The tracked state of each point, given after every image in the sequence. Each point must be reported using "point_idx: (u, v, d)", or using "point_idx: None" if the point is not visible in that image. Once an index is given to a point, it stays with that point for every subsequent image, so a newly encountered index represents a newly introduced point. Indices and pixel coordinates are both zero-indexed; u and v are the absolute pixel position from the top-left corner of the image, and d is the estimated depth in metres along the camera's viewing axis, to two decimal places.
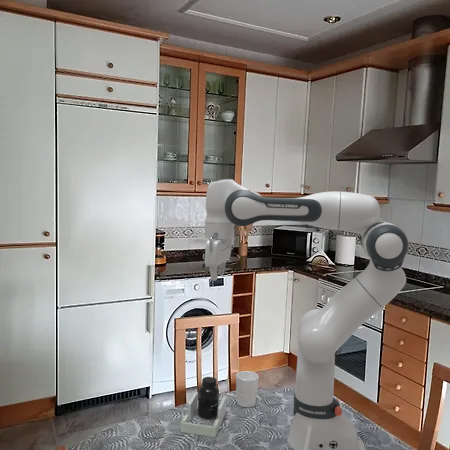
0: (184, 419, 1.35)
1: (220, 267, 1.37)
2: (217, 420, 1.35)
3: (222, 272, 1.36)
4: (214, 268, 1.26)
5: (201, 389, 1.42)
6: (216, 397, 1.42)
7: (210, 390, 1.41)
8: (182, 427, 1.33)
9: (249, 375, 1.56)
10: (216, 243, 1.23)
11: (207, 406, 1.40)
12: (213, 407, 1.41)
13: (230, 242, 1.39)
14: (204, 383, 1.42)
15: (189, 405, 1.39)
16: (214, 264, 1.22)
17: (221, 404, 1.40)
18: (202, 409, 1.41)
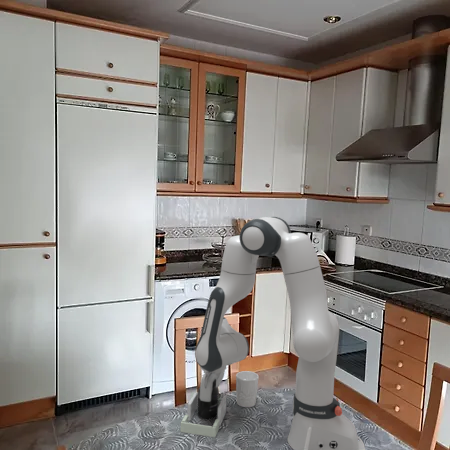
0: (184, 419, 1.35)
1: None
2: (217, 420, 1.35)
3: None
4: None
5: None
6: (216, 397, 1.41)
7: None
8: (182, 427, 1.33)
9: (249, 375, 1.56)
10: (210, 381, 1.39)
11: (207, 406, 1.40)
12: (213, 407, 1.41)
13: None
14: None
15: (189, 405, 1.39)
16: (208, 400, 1.39)
17: (221, 404, 1.40)
18: (202, 409, 1.41)
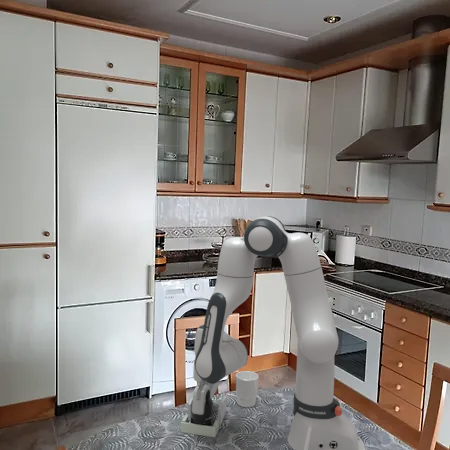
0: (184, 419, 1.35)
1: None
2: (217, 420, 1.35)
3: None
4: None
5: None
6: (210, 409, 1.33)
7: None
8: (182, 427, 1.33)
9: (249, 375, 1.56)
10: (203, 392, 1.31)
11: (201, 419, 1.32)
12: (208, 419, 1.33)
13: None
14: None
15: (189, 405, 1.39)
16: (201, 413, 1.31)
17: (221, 404, 1.40)
18: (196, 422, 1.32)
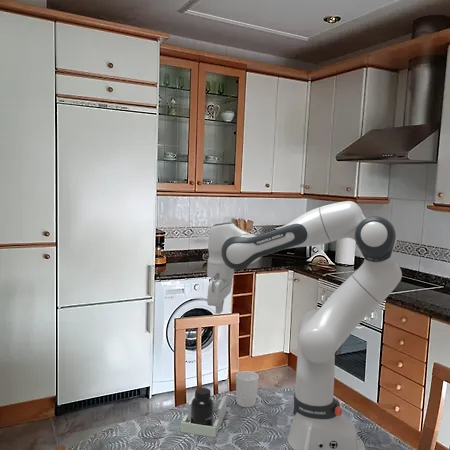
0: (184, 419, 1.35)
1: None
2: (217, 420, 1.35)
3: None
4: None
5: (194, 401, 1.34)
6: (210, 409, 1.33)
7: (204, 402, 1.33)
8: (182, 427, 1.33)
9: (249, 375, 1.56)
10: (218, 284, 1.34)
11: (201, 419, 1.32)
12: (208, 419, 1.33)
13: (231, 278, 1.50)
14: (198, 395, 1.33)
15: (189, 405, 1.39)
16: (216, 303, 1.33)
17: (221, 404, 1.40)
18: (196, 422, 1.33)
